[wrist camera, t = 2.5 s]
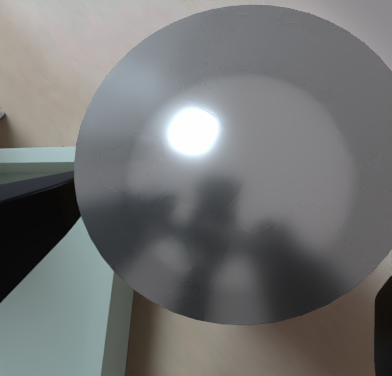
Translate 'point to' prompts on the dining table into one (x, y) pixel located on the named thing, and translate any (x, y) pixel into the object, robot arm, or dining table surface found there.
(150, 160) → the tin can
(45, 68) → the dining table surface
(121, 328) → the pale green tray
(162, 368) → the dining table surface
